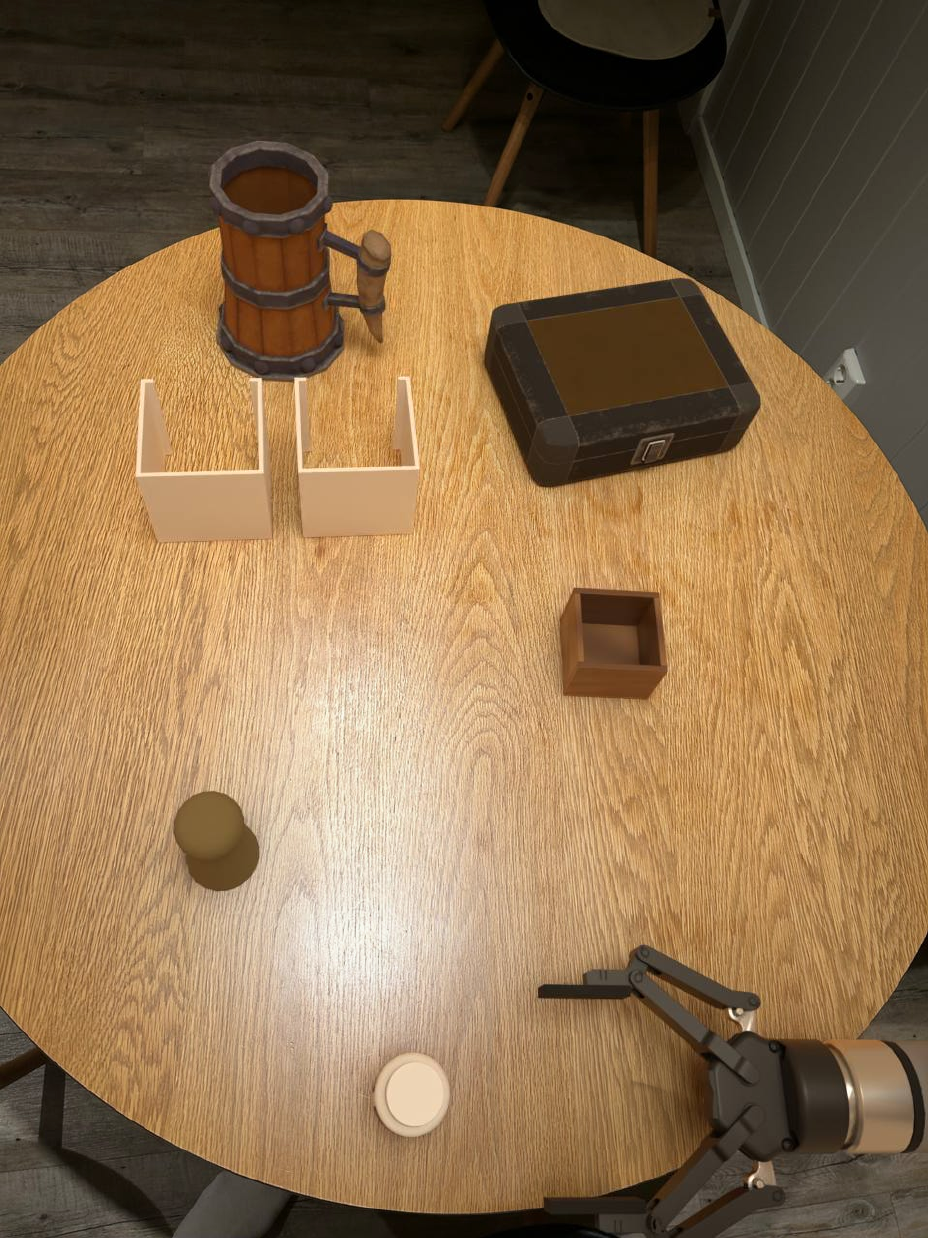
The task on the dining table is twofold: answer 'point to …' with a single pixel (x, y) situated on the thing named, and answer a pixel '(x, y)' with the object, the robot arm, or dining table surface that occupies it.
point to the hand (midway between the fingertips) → (543, 1093)
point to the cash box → (617, 379)
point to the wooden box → (612, 643)
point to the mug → (286, 264)
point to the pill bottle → (411, 1094)
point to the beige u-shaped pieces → (244, 496)
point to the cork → (216, 841)
